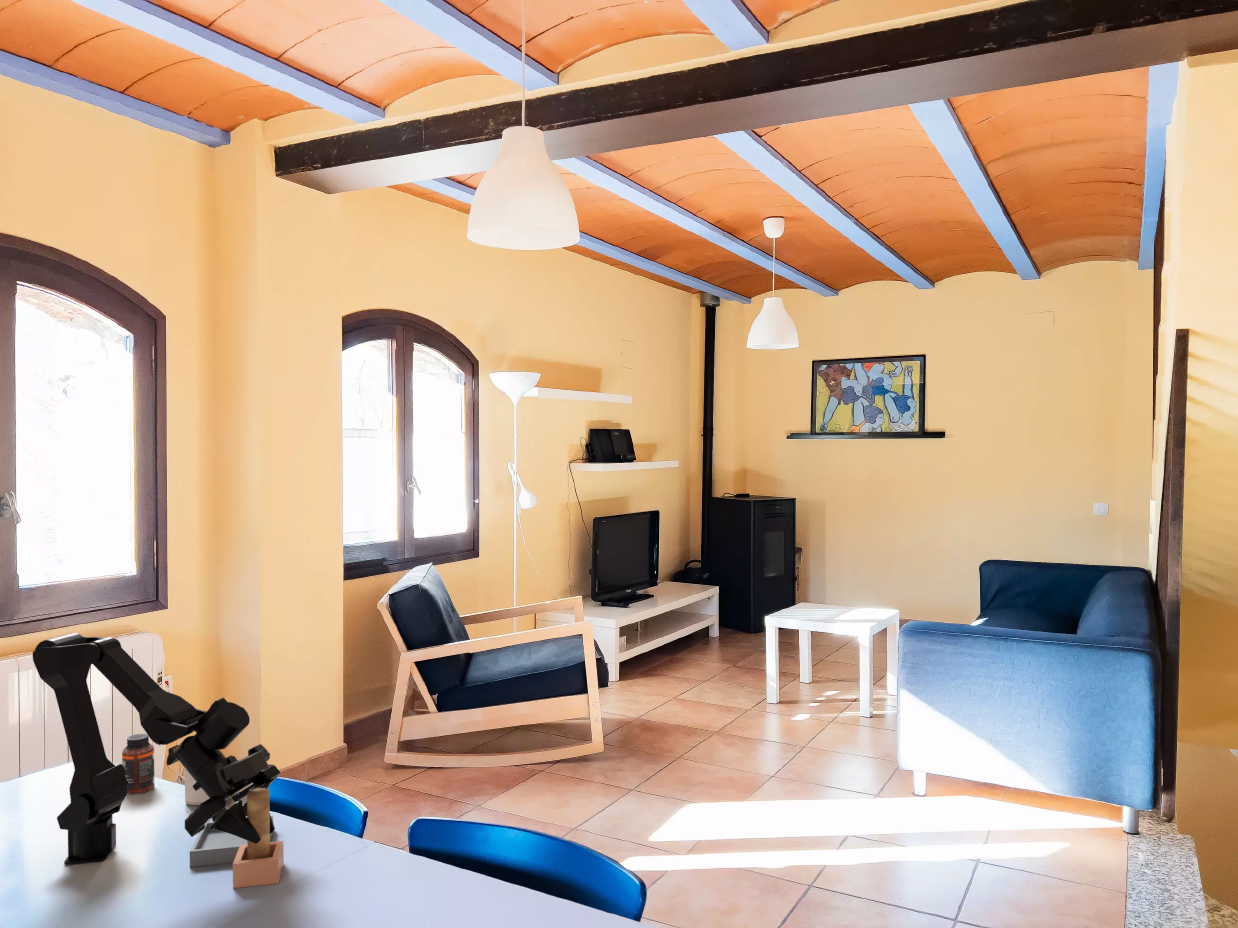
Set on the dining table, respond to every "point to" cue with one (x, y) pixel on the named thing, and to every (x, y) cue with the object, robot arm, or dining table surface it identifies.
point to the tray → (215, 847)
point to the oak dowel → (259, 822)
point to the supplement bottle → (139, 764)
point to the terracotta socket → (258, 867)
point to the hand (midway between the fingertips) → (265, 836)
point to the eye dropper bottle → (193, 791)
